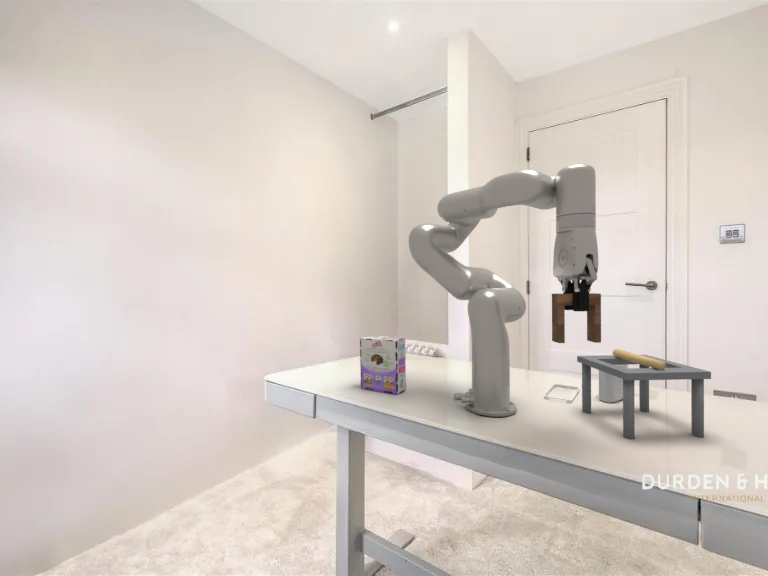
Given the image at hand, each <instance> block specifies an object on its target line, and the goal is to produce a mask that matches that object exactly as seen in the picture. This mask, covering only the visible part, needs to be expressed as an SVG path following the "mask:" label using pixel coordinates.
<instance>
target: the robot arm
mask: <svg viewBox="0 0 768 576" xmlns="http://www.w3.org/2000/svg"><path fill="white" fill-rule="evenodd" d="M596 177H597V176H596V170H595V167H593V166H592V165H590V164H581V163H579V164H573V165H567V166H566V167H563V168H562V169H560V170H559V171H558V172H557V173H556V175H555V176H554V175H549V174H545V173H543V172H540V171H537V170H534V169H524V170H522V169H521V170H517V171H514V172H513V171H512V172H510V173H506V174H501V175H498V176H495V177H493V178H492V179H490V180H489V181H487V182H486V183H485V184H484V185H481V186H477V187H473V188H468V189H463V190H460V191H456V192H452V193H449V194H445V195H444V196H443V197H442V198H441V199H440V200H439V202H438V203H437V208H436V209H437V214H438V216H439V217H440V218H441V219H442V220H443V221H445V222H447V223H448V224H447V225H443V224H436V223H421V224H418V225H416V226H415V227H413V229H412V230H411V231H410V232H409V235H408V248H409V252H410V255H411V257H412V259H413V261H414V262H415V263H416V264H417V266H419V268H421V269H422V271H423V272H425V273H426V274H427V275H429V276H430V277H432V279H433V280H435V281H436V282H437V284H439V285H440V286H441V287H442V288H443V289H445V291H447V292H448V293H449V294H450V295H451V296H452V297H453V298H455V299H457V300H459V301H468V302H467V315H468V319H469V326H470V334H471V337H470V338H471V388H468V391H466V392H465V393H462V392H456V393H454V394H453V399H454V401H455V402H456V401H457V402H458V401H460V402H461V403H463V404H464V403H465V406H466V408H467V410H468V411H470V412H471V413H473V414H477V415H481V416H485V417H493V418H499V417H501V418H502V417H510V416H513V415H514V414H515V413H516V412H517V405H516V404H515V403H514V402H512V401H511V398H510V397H511V393H510V392H511V389H510V388H511V387H510V386H511V384H510V379H511V374H510V373H511V371H510V370H511V369H510V368H511V366H510V364H511V363H510V362H511V361H510V359H511V358H510V357H511V356H510V338H509V334H508V330H507V328H506V324H509V323H514V322H516V321H519V320H520V319H522V318H523V316H524V315H525V313H526V310H527V304H526V299H525V297H524V295H523V293H521V292H520V291H519V290H518V289H516V288H515V287H514V286H513V285H511V284H510V283H508V282H507V281H506V280H504V279H503V278H502V277H501V276H499V275H497V274H496V273H495V272H493V271H492V270H490V269H488V268H484V267H475V266H474V267H472V266H467V265H464V264H463V263H461V262H460V261H458V260H457V259H455V257H453V256H452V255H451V254H449V253H453V252H454V251H457V250H458V248H460V246H462V244H463V243H464V242H465V241H466V239H467V238H468V237H469V236H470V235H471V233H473V231H474V230H475V228H476V227H477V226H478V225H479V223H480V221H481V220H483V219H490V218H492V217H494V216H495V215H496V213H497V212H498V209H502V208H506V207H513V206H520V205H521V206H527V207H531V208H534V209H538V210H544V211H545V210H550V209H551V210H552V209H554V208H555V229H556V230H555V233H556V234H555V240H554V248H553V256H552V257H553V261H552V262H553V263H552V275H553V277H555V278H557V281H558V282H559V283H560V284H561V291H562V294H569V293H573V305H565V311H573V312H587V311H589V293H591V291H592V288H591V287H592V285H593V283H594V282H596V281H597V280H598V272H599V249H598V248H599V247H598V239H597V232H596V230H597V228H596V227H597V223H596V222H597V217H596V213H597V210H596V209H597V208H596V206H597V205H596V202H597V197H596V195H597V194H596V191H597V190H596V188H597V187H596V179H597V178H596Z"/></svg>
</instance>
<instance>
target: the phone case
mask: <svg viewBox="0 0 768 576" xmlns="http://www.w3.org/2000/svg"><path fill="white" fill-rule="evenodd" d="M554 388H563V389H568V388H569V389H568V390H574V389H577V390H575V391H576V392H574V394H573V396H572V397H571V398H570V399H567V398H566V399H565V398H561V397H554V396H550V395H549V394H550V393H551V392H552V391H553V390H554ZM579 391H580V392H581V388H580V387H579V386H573V385H567V384H566V385H565V384H558V383H554V384H552V385H551V386H550V388H549V389H548V390H547V391H546V392H545V393H544V394H543V399H544V400H549V399H555V400H561V401H565V403H567V404H573V402H574V401H575V400H576V398H577V396H578V393H579ZM548 395H549V396H548Z"/></svg>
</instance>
